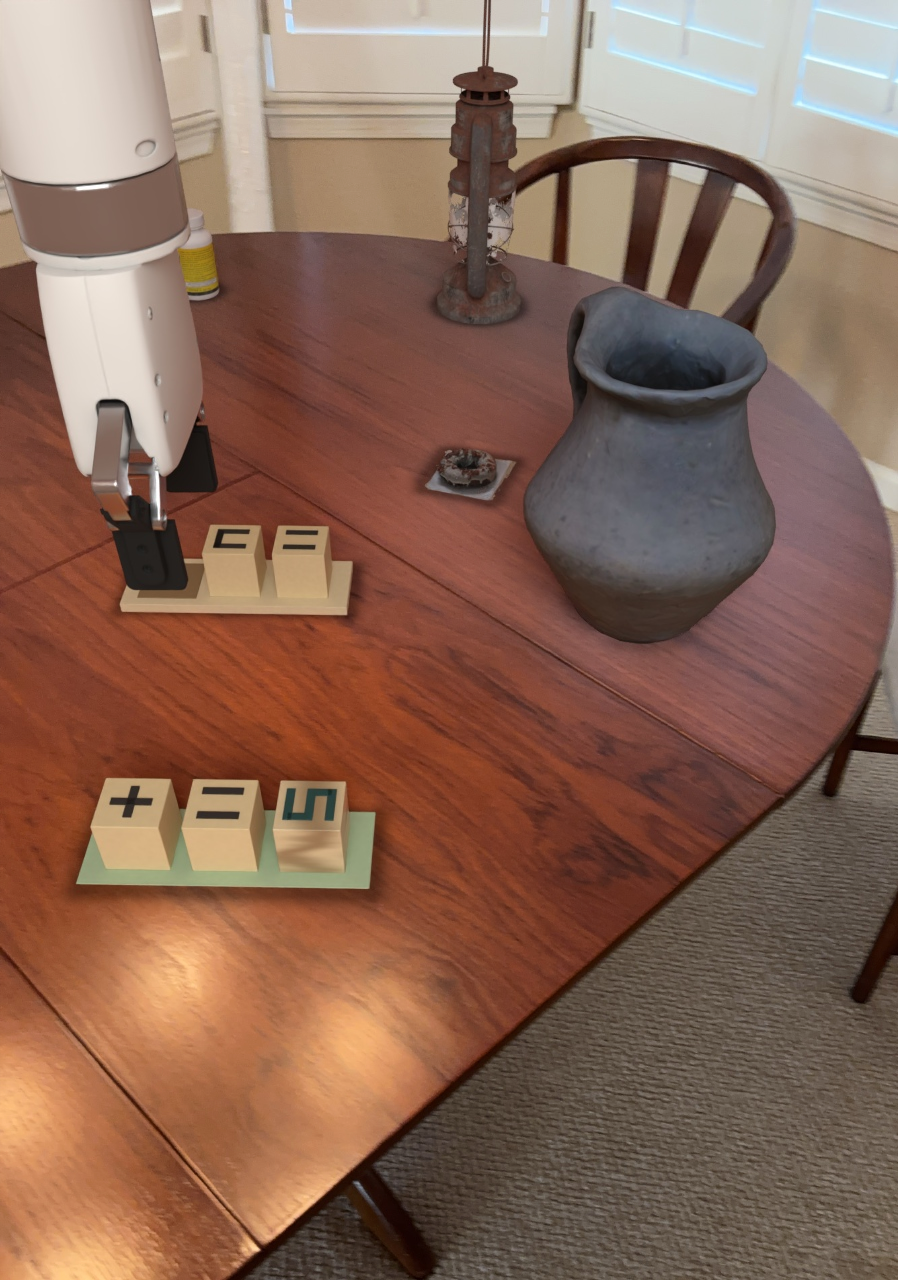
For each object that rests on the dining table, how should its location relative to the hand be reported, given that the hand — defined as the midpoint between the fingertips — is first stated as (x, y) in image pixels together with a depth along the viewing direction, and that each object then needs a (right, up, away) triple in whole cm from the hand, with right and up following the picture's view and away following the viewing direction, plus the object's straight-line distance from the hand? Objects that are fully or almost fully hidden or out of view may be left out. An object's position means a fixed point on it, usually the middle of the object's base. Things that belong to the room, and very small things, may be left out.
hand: (176, 536), depth 60 cm
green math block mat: (0, -19, +15) cm, 24 cm away
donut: (+18, +18, +50) cm, 56 cm away
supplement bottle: (-18, +52, +80) cm, 97 cm away
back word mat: (-4, +4, +36) cm, 36 cm away
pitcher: (+31, +3, +35) cm, 47 cm away
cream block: (+6, -18, +14) cm, 24 cm away
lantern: (+19, +49, +78) cm, 94 cm away
